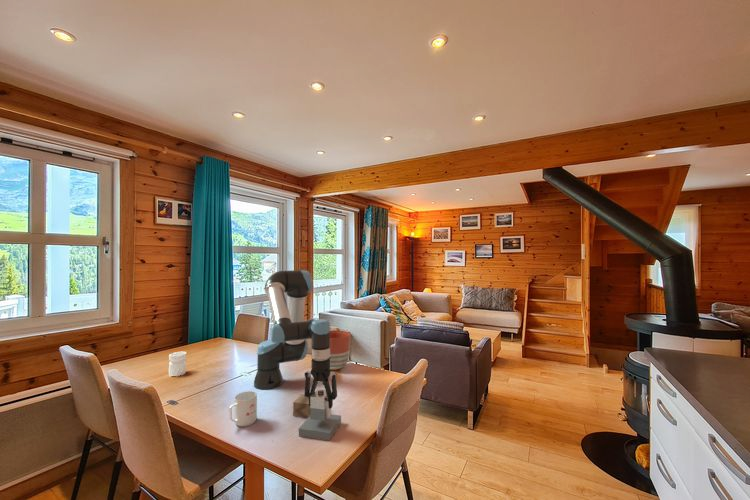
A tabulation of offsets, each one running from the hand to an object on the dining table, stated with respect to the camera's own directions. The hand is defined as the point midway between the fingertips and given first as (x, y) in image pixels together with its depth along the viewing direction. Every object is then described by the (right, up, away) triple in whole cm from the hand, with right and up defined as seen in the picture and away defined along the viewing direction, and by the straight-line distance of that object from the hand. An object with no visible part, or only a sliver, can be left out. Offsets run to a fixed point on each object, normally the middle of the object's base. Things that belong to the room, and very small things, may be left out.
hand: (320, 414), depth 125 cm
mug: (-34, -6, +4) cm, 35 cm away
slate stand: (0, -6, 0) cm, 6 cm away
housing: (0, 0, 0) cm, 0 cm away
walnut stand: (-9, -6, +13) cm, 17 cm away
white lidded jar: (-97, -7, +58) cm, 113 cm away
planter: (-3, -7, +67) cm, 68 cm away
